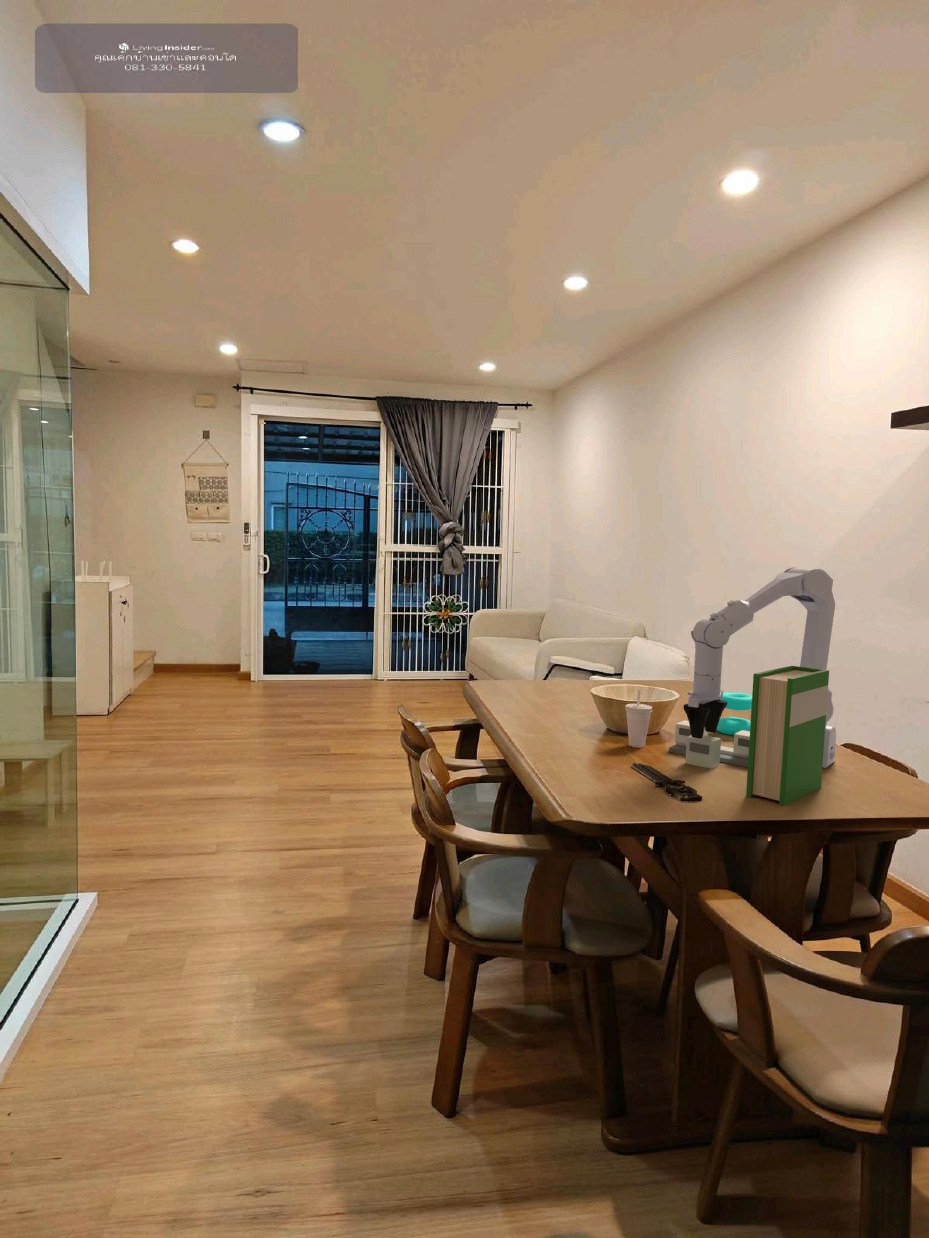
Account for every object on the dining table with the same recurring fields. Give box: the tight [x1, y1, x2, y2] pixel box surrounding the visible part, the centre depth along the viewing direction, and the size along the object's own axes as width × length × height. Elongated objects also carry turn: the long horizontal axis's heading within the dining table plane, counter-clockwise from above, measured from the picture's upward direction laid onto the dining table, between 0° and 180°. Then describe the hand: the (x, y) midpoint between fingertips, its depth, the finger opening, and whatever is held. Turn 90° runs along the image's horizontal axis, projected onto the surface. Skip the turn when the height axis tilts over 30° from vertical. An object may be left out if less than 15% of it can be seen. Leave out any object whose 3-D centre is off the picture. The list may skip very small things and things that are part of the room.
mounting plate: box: [668, 719, 750, 768], centre depth 176 cm, size 20×11×6 cm, turn 50°
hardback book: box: [745, 665, 830, 807], centre depth 149 cm, size 18×7×24 cm, turn 134°
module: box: [685, 735, 722, 770], centre depth 168 cm, size 6×5×6 cm
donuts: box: [716, 691, 752, 736], centre depth 200 cm, size 10×10×10 cm
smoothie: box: [624, 687, 653, 748], centre depth 182 cm, size 6×6×14 cm
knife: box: [630, 762, 703, 803], centre depth 155 cm, size 25×6×1 cm, turn 8°
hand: (703, 734), depth 168 cm, fingers open, 7 cm apart
